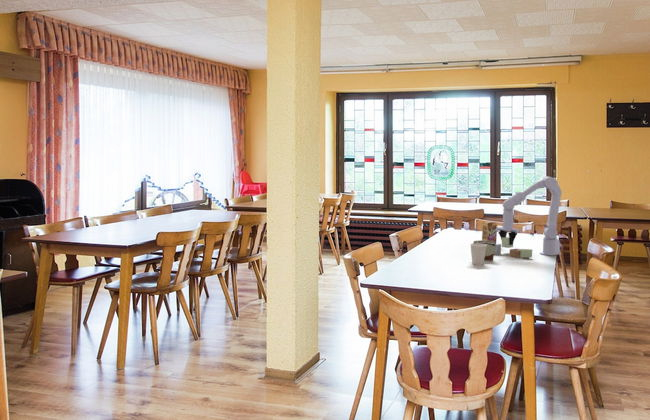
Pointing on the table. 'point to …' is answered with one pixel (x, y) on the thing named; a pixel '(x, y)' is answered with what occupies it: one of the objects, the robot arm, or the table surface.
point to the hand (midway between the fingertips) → (507, 244)
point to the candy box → (489, 231)
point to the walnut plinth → (515, 253)
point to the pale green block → (526, 253)
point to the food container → (488, 249)
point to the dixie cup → (478, 253)
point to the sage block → (506, 242)
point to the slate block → (497, 249)
